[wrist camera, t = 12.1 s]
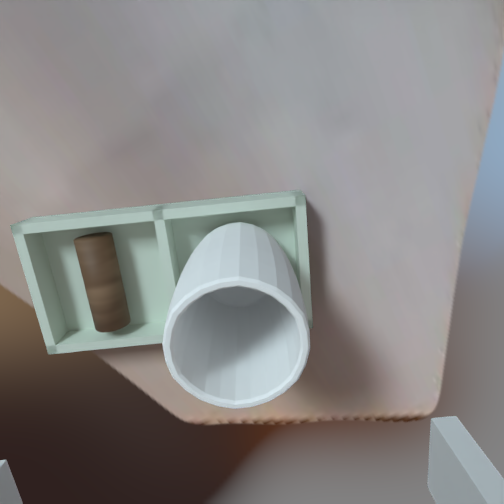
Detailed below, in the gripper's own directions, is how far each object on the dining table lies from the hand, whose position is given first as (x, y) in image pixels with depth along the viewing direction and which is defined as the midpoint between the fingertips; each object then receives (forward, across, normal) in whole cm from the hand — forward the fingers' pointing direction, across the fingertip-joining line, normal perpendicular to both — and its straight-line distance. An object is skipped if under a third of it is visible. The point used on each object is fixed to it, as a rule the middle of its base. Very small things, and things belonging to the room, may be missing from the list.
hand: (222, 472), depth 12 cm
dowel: (+22, -11, -1) cm, 25 cm away
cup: (+22, 0, -1) cm, 22 cm away
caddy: (+23, -6, -1) cm, 23 cm away
